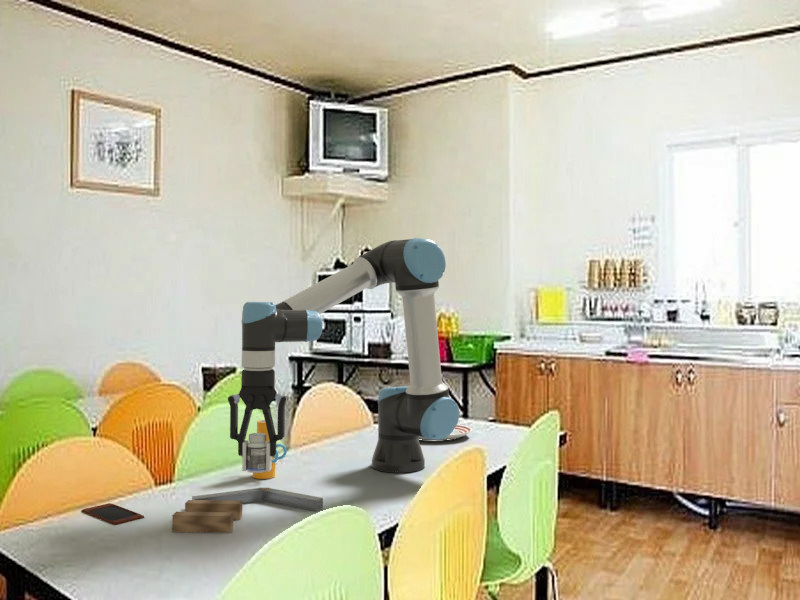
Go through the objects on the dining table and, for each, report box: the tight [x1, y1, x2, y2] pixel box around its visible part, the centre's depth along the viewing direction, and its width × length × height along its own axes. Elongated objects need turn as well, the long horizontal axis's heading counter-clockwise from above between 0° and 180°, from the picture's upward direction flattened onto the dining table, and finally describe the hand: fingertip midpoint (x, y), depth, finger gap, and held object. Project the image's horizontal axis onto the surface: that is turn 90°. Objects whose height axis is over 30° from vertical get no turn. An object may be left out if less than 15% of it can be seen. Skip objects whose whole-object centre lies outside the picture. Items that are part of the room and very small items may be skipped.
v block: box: [191, 487, 324, 512], centre depth 173 cm, size 30×10×2 cm, turn 89°
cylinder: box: [241, 419, 288, 480], centre depth 199 cm, size 12×10×15 cm
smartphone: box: [81, 502, 145, 526], centre depth 164 cm, size 7×1×15 cm
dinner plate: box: [419, 424, 473, 440], centre depth 257 cm, size 28×27×3 cm
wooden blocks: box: [171, 499, 243, 534], centre depth 158 cm, size 12×11×4 cm
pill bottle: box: [246, 432, 267, 474], centre depth 170 cm, size 5×5×8 cm
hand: (257, 469), depth 169 cm, fingers closed on pill bottle, 5 cm apart
